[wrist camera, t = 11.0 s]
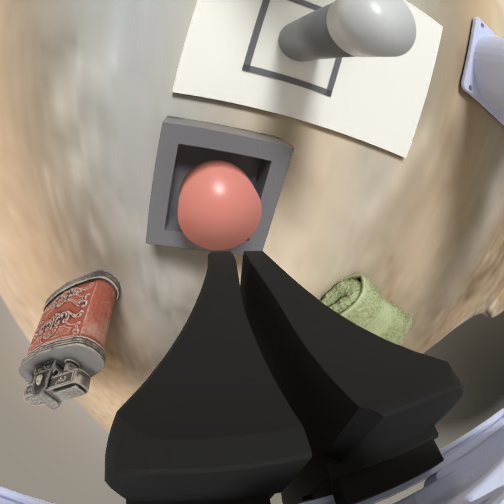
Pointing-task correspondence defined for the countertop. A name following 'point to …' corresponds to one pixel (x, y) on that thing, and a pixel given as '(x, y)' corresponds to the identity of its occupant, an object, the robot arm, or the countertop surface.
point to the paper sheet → (306, 72)
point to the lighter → (70, 339)
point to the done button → (218, 206)
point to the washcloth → (368, 308)
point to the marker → (350, 31)
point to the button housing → (207, 149)
